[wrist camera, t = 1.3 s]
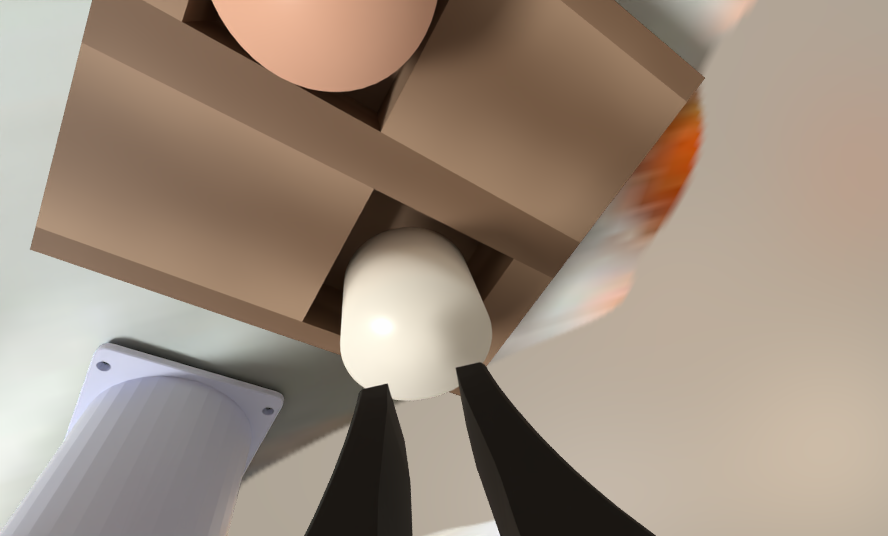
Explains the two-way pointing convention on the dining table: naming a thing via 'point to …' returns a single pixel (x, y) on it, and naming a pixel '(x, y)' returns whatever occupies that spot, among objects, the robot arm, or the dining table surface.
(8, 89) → the dining table surface
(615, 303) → the dining table surface
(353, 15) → the peach egg
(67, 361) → the dining table surface
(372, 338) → the knob cream
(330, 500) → the robot arm
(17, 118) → the dining table surface
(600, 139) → the wooden egg crate
